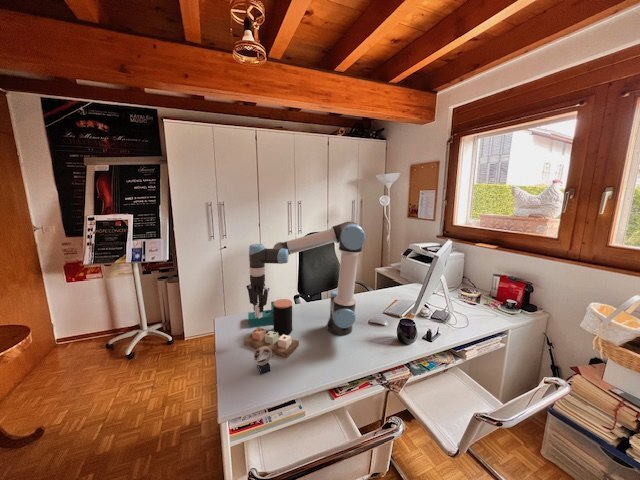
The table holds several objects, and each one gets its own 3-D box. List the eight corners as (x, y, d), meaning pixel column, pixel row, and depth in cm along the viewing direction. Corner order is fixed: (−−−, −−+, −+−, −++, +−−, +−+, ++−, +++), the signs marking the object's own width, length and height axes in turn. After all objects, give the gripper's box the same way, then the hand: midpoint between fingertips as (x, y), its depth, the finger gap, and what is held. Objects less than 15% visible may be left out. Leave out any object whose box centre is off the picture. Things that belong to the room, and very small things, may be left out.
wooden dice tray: (299, 345, 138) (299, 340, 137) (286, 359, 127) (286, 353, 126) (258, 334, 148) (258, 329, 148) (244, 345, 138) (244, 340, 137)
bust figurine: (252, 369, 119) (252, 347, 117) (269, 363, 124) (269, 342, 122) (257, 376, 115) (256, 354, 113) (274, 370, 119) (273, 348, 117)
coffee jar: (295, 329, 154) (295, 301, 150) (285, 338, 144) (285, 308, 141) (280, 325, 158) (279, 297, 154) (269, 334, 148) (269, 304, 145)
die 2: (278, 339, 138) (278, 332, 138) (272, 344, 134) (272, 337, 133) (270, 337, 140) (270, 330, 140) (264, 342, 136) (264, 334, 135)
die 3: (291, 343, 135) (291, 336, 134) (286, 348, 131) (286, 341, 130) (283, 341, 137) (283, 333, 136) (277, 346, 133) (277, 338, 132)
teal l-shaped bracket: (277, 316, 170) (276, 301, 169) (280, 323, 160) (279, 306, 159) (248, 320, 165) (247, 304, 164) (249, 327, 154) (248, 310, 153)
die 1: (265, 336, 142) (265, 328, 141) (260, 340, 137) (259, 333, 136) (258, 333, 144) (258, 326, 143) (252, 338, 139) (252, 331, 138)
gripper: (273, 274, 134) (274, 316, 139) (250, 270, 140) (252, 311, 144) (264, 278, 127) (265, 323, 132) (241, 274, 133) (243, 317, 138)
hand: (258, 316), depth 138 cm, fingers closed
